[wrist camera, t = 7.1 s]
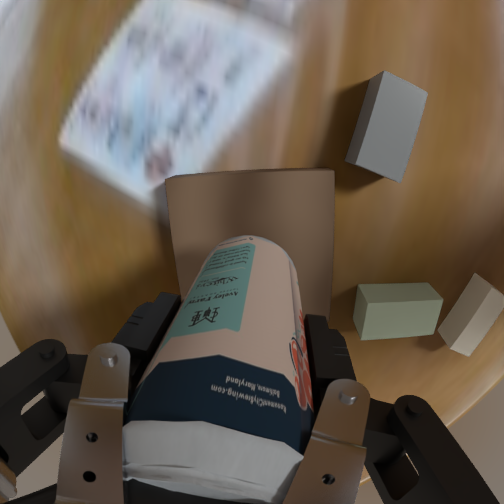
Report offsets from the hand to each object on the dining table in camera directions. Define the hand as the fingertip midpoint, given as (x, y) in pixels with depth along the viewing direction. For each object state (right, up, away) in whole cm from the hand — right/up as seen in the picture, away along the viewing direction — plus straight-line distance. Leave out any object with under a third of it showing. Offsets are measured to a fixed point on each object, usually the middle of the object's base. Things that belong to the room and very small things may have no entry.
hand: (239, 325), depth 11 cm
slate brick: (+9, +11, +6) cm, 15 cm away
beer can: (0, +2, +4) cm, 5 cm away
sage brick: (+11, -1, +10) cm, 15 cm away
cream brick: (+19, -2, +10) cm, 22 cm away
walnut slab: (+1, +3, +9) cm, 10 cm away
